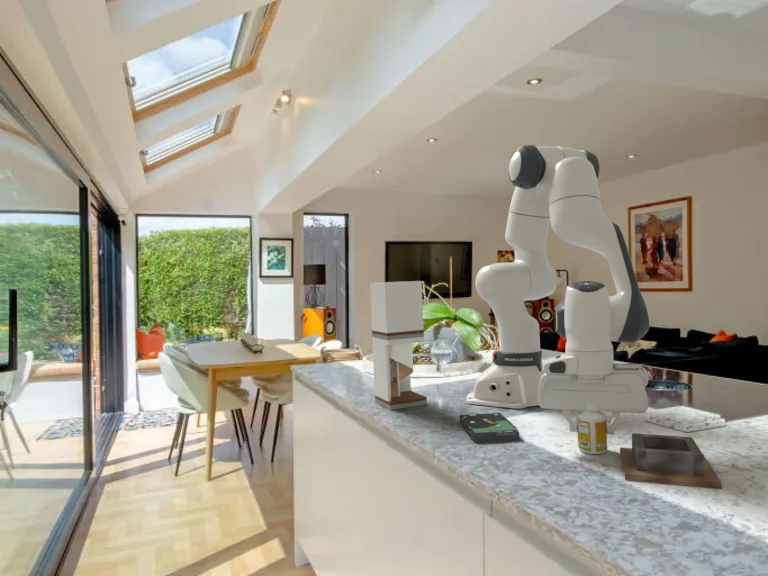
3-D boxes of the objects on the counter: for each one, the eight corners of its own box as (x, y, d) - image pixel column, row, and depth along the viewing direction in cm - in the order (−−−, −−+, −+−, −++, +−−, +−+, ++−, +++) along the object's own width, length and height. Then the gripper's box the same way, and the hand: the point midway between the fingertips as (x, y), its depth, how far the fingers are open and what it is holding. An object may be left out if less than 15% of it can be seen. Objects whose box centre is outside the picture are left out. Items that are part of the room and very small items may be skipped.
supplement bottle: (606, 446, 104) (604, 399, 104) (608, 455, 99) (606, 405, 99) (577, 445, 106) (575, 398, 105) (578, 454, 100) (576, 404, 100)
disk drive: (458, 426, 125) (474, 445, 110) (458, 415, 125) (473, 432, 110) (500, 423, 125) (521, 441, 111) (499, 412, 125) (520, 428, 111)
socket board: (625, 479, 87) (624, 453, 87) (620, 452, 100) (619, 429, 100) (721, 488, 82) (720, 460, 82) (702, 458, 95) (702, 434, 95)
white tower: (390, 409, 141) (384, 282, 140) (375, 402, 150) (369, 283, 150) (426, 404, 145) (421, 280, 145) (409, 396, 155) (404, 281, 154)
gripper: (646, 361, 101) (648, 431, 101) (538, 359, 108) (540, 424, 109) (649, 367, 95) (652, 441, 95) (535, 364, 103) (538, 433, 103)
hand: (591, 432), depth 102 cm, fingers closed on supplement bottle, 5 cm apart
